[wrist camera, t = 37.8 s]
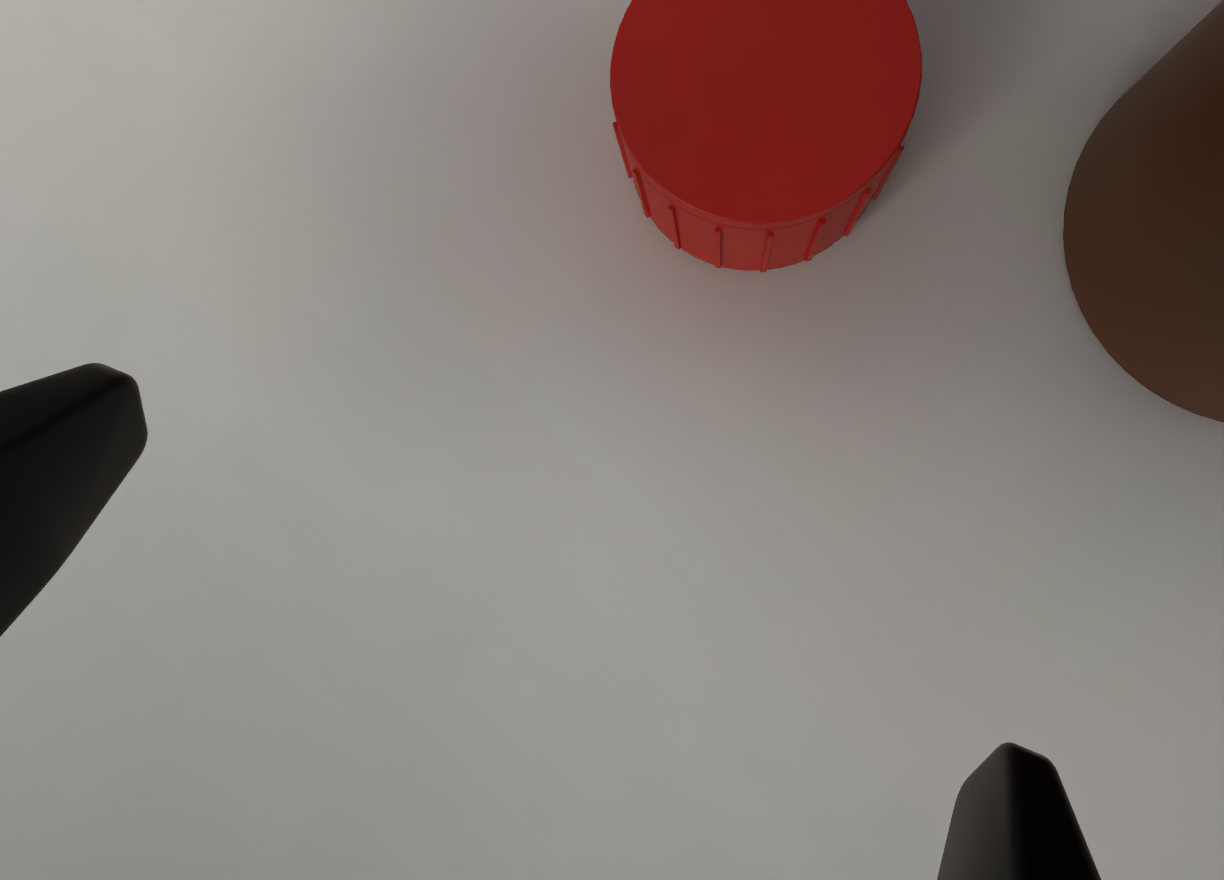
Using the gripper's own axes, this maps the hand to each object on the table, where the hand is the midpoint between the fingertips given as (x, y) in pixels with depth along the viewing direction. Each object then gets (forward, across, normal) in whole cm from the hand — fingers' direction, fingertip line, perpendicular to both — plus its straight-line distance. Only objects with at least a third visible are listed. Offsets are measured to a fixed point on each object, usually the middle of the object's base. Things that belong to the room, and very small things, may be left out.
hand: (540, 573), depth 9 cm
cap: (+9, 0, 0) cm, 9 cm away
